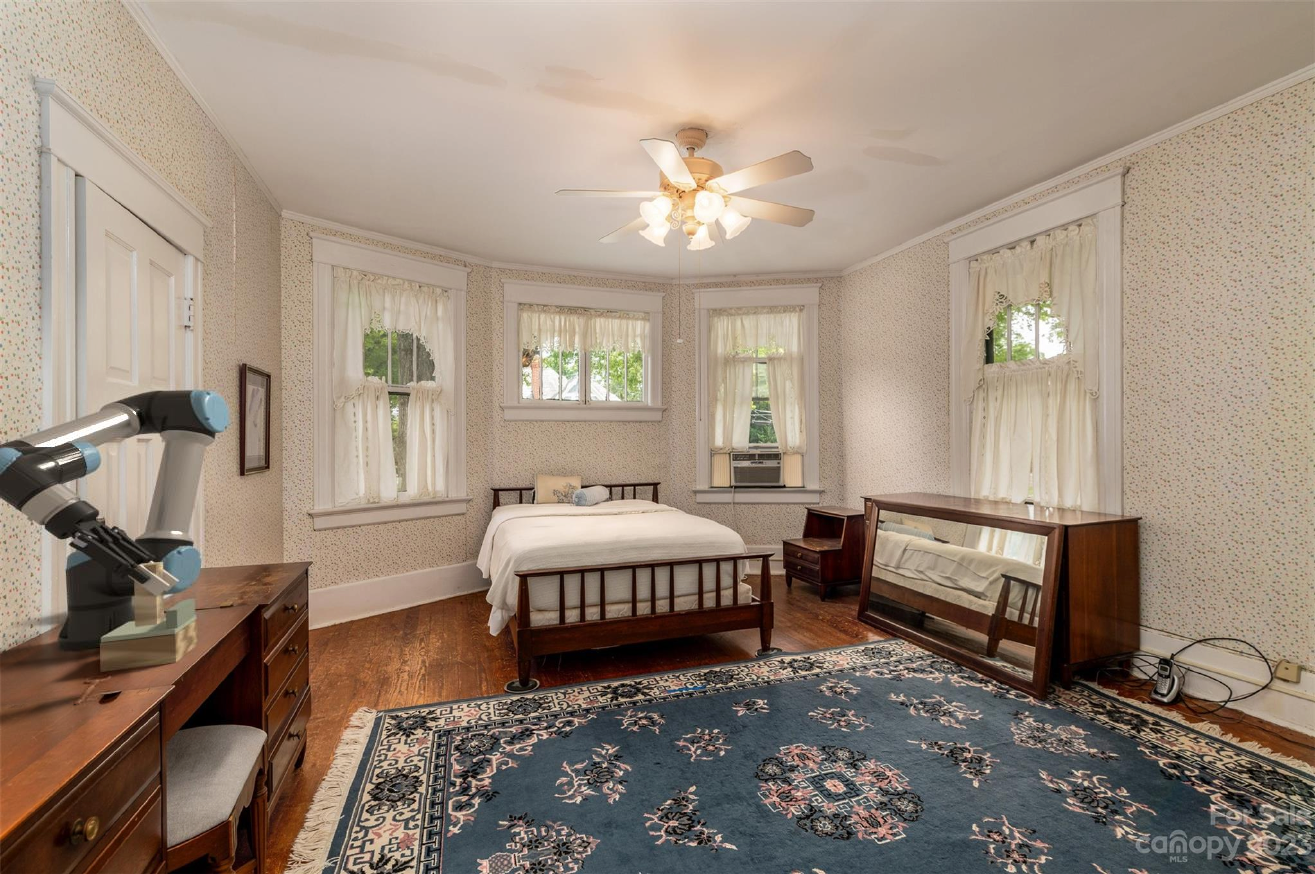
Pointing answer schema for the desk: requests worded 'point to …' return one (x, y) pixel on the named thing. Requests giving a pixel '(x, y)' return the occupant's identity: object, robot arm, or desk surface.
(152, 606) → the block
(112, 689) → the desk surface
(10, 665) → the desk surface
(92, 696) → the key
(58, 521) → the robot arm
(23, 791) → the desk surface
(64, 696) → the desk surface
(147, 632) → the lid
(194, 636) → the light wooden box
